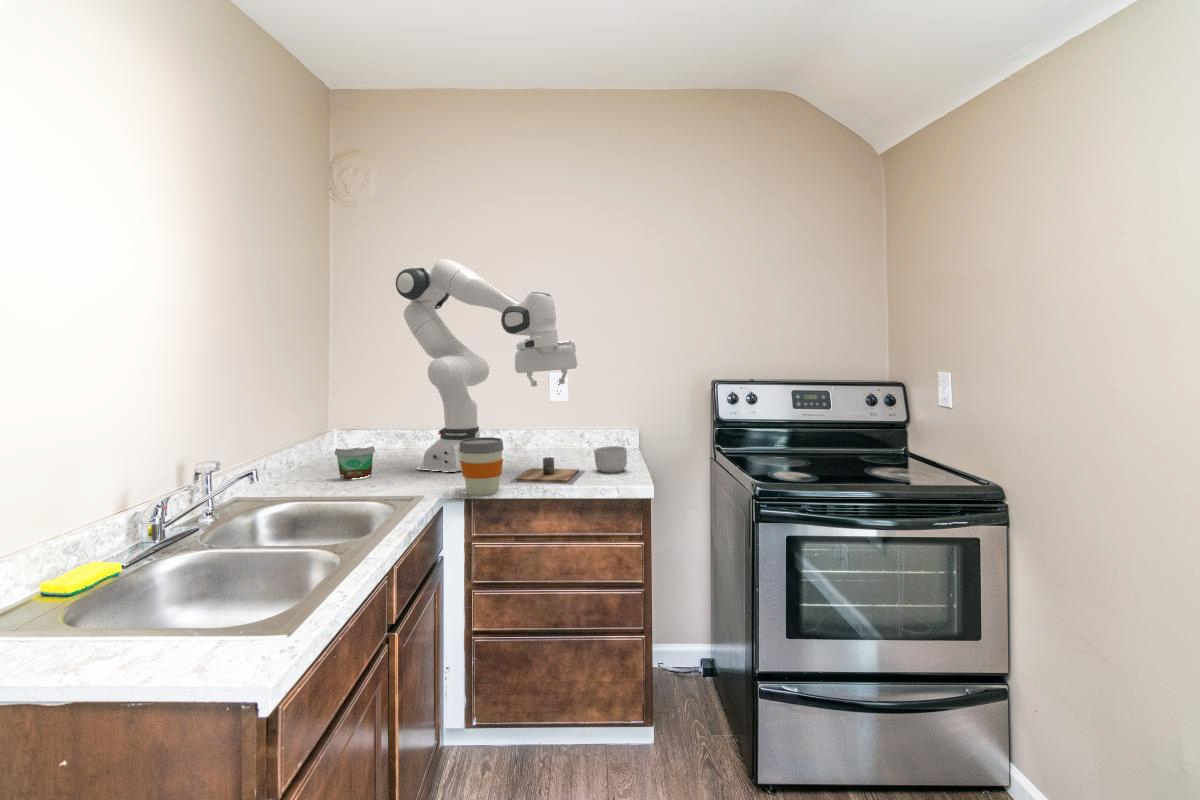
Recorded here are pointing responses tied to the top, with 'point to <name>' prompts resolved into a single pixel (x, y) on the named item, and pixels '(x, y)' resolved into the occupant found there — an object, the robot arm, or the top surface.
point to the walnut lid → (548, 473)
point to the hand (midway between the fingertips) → (548, 385)
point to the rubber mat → (549, 482)
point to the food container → (355, 462)
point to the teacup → (611, 459)
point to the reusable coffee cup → (481, 464)
